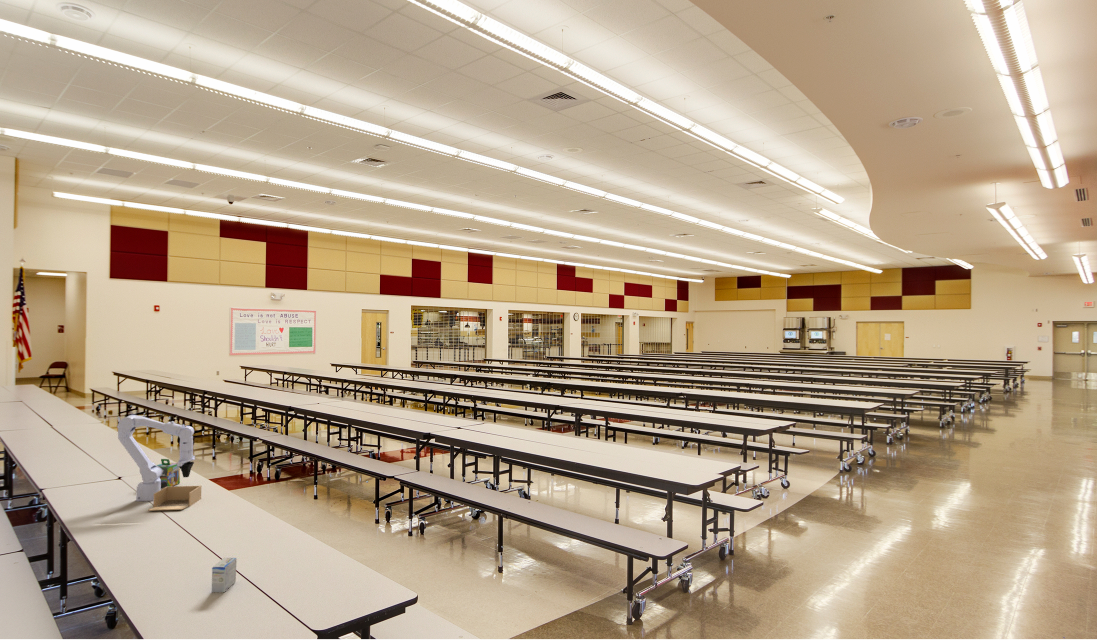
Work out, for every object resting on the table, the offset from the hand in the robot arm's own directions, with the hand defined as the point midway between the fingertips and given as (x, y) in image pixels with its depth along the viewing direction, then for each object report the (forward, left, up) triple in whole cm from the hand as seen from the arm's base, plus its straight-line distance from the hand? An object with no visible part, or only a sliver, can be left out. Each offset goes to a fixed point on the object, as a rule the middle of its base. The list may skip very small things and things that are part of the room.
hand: (186, 477), depth 285 cm
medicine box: (+58, -106, -11) cm, 121 cm away
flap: (+2, -18, -10) cm, 20 cm away
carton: (+2, -12, -10) cm, 16 cm away
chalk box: (-19, +22, -11) cm, 31 cm away
